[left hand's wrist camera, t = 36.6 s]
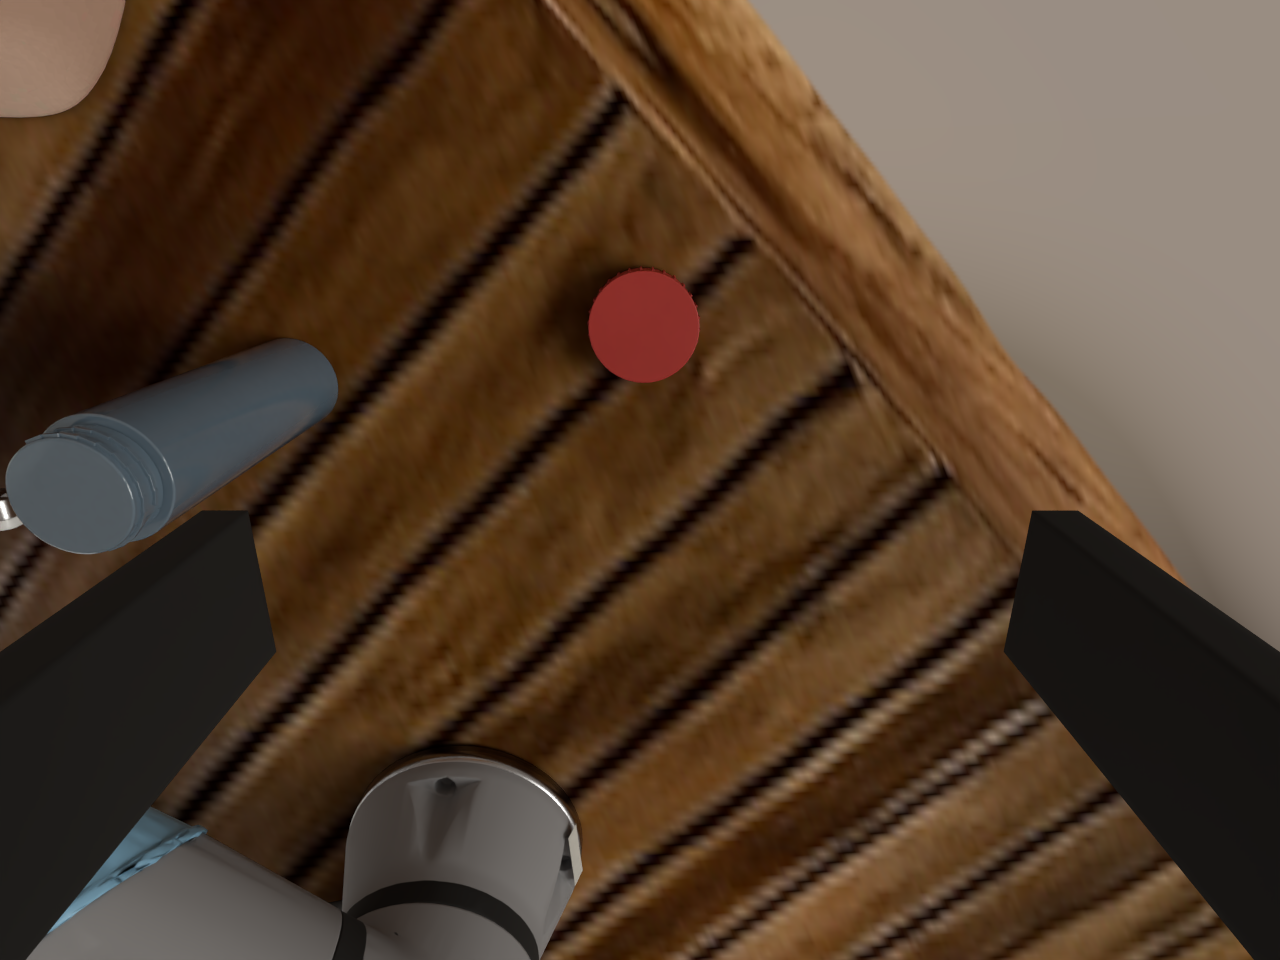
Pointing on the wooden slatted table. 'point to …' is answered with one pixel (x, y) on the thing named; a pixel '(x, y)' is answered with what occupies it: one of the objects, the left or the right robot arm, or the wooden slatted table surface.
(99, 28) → the anatomical model
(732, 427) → the wooden slatted table surface
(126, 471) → the blue grey capped cylinder
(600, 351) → the lid
